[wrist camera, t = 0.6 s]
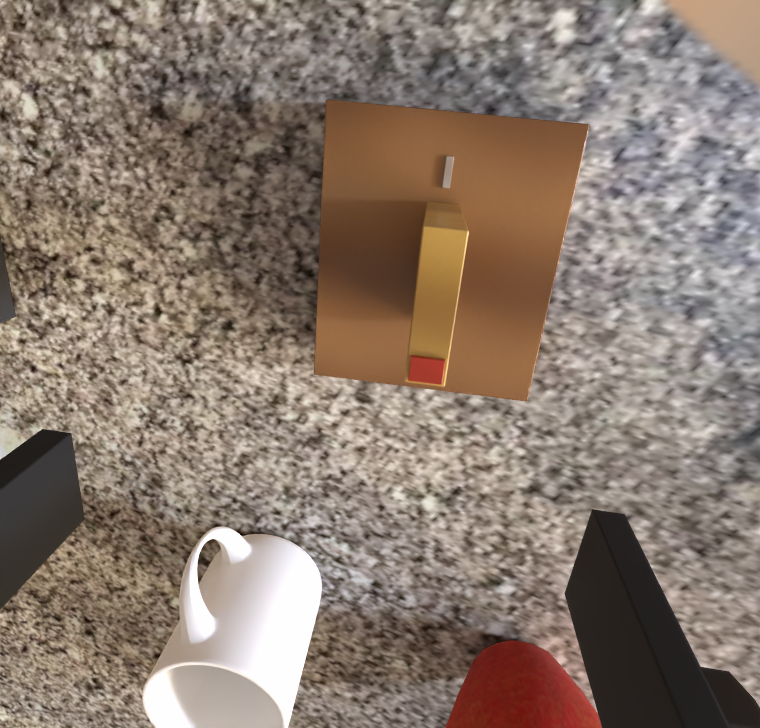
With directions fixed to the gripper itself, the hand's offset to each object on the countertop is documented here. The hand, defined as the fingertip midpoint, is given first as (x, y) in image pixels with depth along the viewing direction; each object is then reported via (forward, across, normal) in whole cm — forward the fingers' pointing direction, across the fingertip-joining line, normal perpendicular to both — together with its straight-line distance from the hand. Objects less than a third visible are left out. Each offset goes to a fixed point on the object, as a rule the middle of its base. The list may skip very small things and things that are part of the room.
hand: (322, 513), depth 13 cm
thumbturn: (+16, +2, +3) cm, 16 cm away
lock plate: (+19, +2, +3) cm, 19 cm away
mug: (+19, -7, -21) cm, 29 cm away
